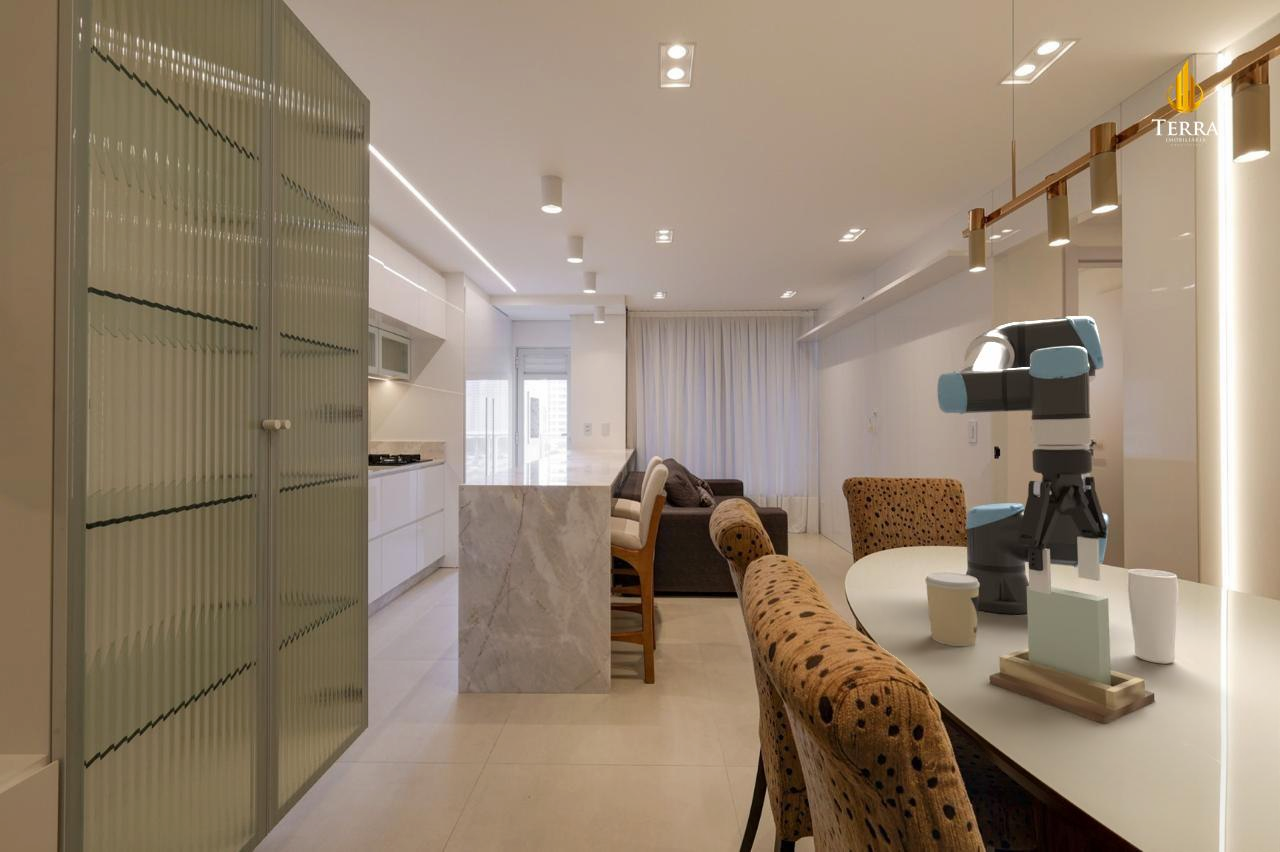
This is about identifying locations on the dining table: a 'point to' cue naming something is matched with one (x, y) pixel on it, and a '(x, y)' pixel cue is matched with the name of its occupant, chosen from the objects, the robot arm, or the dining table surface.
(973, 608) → the coffee cup
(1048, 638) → the door panel
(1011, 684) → the track board
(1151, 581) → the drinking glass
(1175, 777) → the dining table surface
